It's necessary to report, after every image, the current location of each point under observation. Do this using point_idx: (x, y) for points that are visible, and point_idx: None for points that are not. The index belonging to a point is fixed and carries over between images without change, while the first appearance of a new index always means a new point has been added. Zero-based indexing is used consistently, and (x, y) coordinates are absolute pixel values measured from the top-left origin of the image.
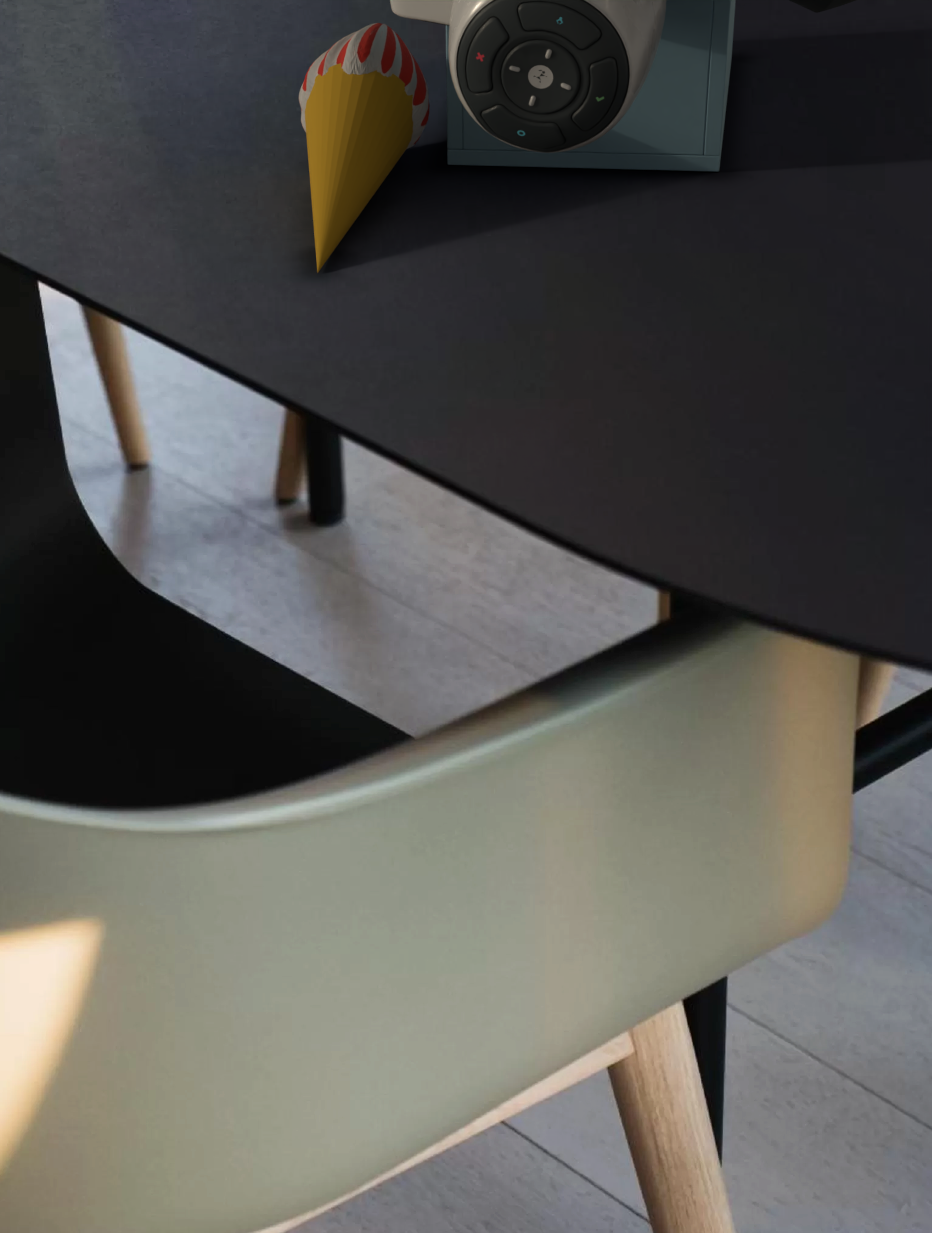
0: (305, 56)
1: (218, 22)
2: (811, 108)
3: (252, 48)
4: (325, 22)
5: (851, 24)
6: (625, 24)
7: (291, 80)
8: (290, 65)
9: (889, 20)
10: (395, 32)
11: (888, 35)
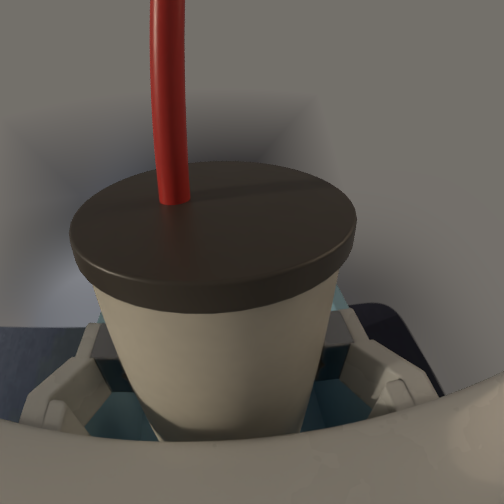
0: (32, 381)
1: (5, 335)
2: None
3: (10, 367)
4: (51, 336)
5: (364, 314)
6: None
7: (19, 415)
8: (22, 393)
9: (380, 307)
10: None
11: (389, 323)
